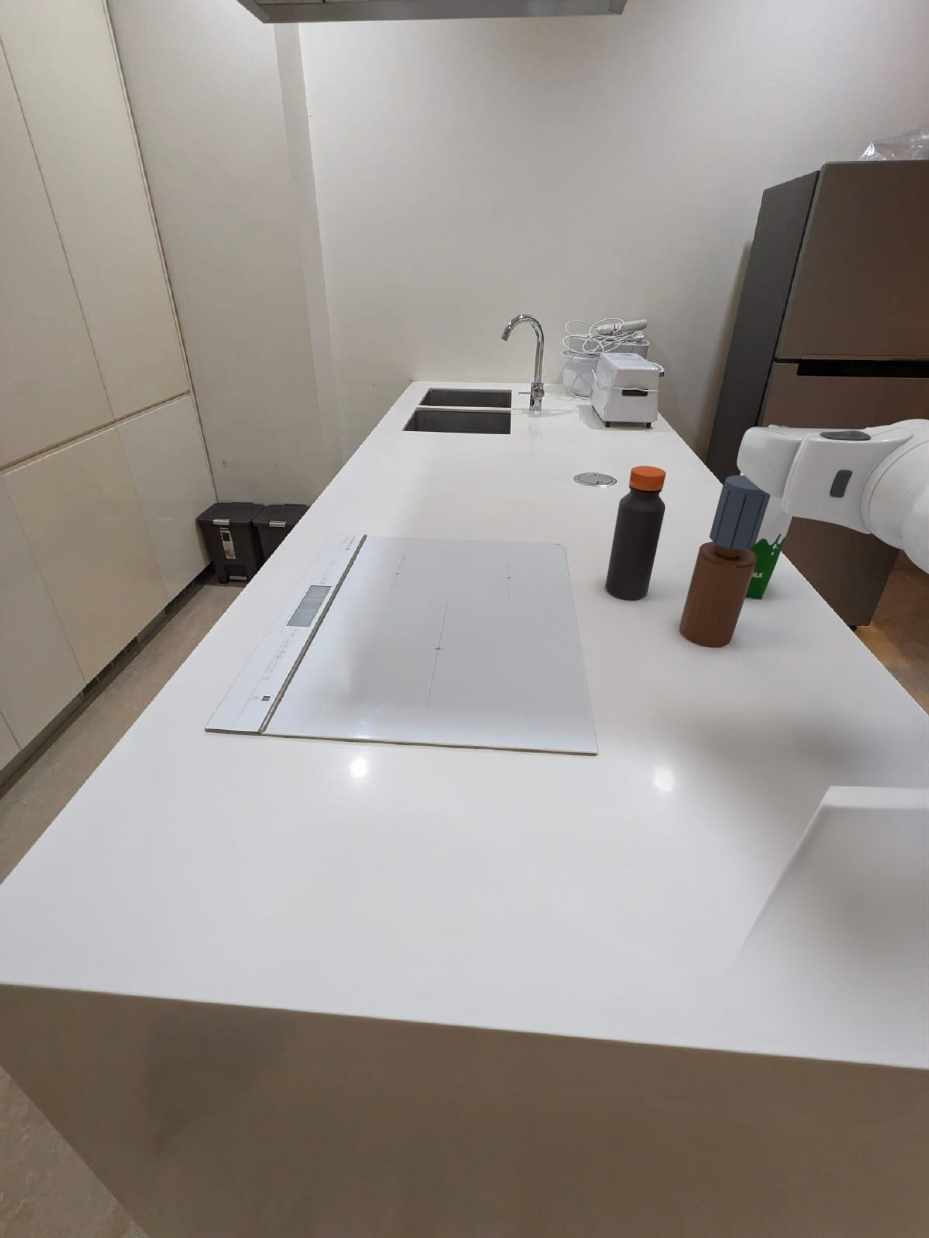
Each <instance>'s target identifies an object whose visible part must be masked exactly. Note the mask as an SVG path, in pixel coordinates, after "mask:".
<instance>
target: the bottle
mask: <svg viewBox="0 0 929 1238" xmlns="http://www.w3.org/2000/svg"><path fill="white" fill-rule="evenodd" d="M756 562H757V556H756V554H755V553H754V552H753V551H752V550H750V549H732V548H726V547H723V546H720V545H717V544H716V543H714V542H713V541H708V542H704V543H702V544H701V545H700V546H699V548H698V552H697V556H696V559H695V563H694V568H693V571H692V576H691V579H690V583H689V586H688V591H687V594H686V599H685V603H684V606H683V611H682V613H681V618H680V622H679V633H680V634H681V635H682V636H683V638H685V639H686V640H688V641H689V642H691V643H693V644H695V645H698V646H703V647H708V648H720V647H725V646H727V645H728V644H730V642H731V641H732V638H733V637H734V634H735V630H736V627H737V624H738V621H739V618H740V614H741V612H742V608H743V605H744V601H745V600H746V597H747V596H746V593H747V590H748V587H749V584H750V581H751V578H752V575H753V571H754V568H755V565H756Z"/></svg>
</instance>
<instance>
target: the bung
mask: <svg viewBox="0 0 929 1238" xmlns="http://www.w3.org/2000/svg"><path fill="white" fill-rule="evenodd" d="M770 496H771V495H770V494H768V493H766V492H764V491H763V490H761V489H760V488H759V487H757V486H756V485H755V484H754V483H753V482H751V481H750V480H749V479H748V478H747V477H746V476H744V475H740V474H739V475H738V474H736V475H730V476H727V477H726V478H725V480H724V483H723V484H722V488H721V490H720V495H719V499H718V501H717V502H718V503H717V506H716V509H715V514H714V517H713V522H712V525H711V528H710V532H709V536H708V537H709V539H710V540H711V542H714V543H716V544H717V545H720V546H723V547H726V548H732V549H750V548H751V547H753V546H754V545H755V543H756V540H757V537H758V534H759V531H760V527H761V524H762V521H763V518H764V515H765V511H766V508H767V505H768V502H769V499H770Z"/></svg>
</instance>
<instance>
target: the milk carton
mask: <svg viewBox="0 0 929 1238" xmlns="http://www.w3.org/2000/svg"><path fill="white" fill-rule="evenodd" d="M739 475H744V474H743V473H742V472H741V471H740V474H739ZM744 476H745V475H744ZM781 503H782V499H781V498H777V497H775V496H772V495H771V496H770V499H769V502H768V505H767V508H766V511H765V515H764V518H763V521H762V524H761V527H760V531H759V534H758V537H757V540H756V543H755V545H754V546H753V547H751V548H750V550H752V551H753V552H754V553H755V554H756V556H757V562H756V565H755V568H754V571H753V575H752V578H751V581H750V584H749V587H748V590H747V593H746V596H745V597H748V598H754V599H760V600H761V599H762V600H763V596H764V594H765V592H766V590H767V587H768V584H769V582H770V580H771V579H772V575H773V573H774V571H775V568H776V566H777V563H778V561H779V558H780V554H781V551H782V549H783V545H784V543H785V540H786V537H787V534H788V531H789V528H790V526H791V522H792V519H793V516H791V515H789V514H787V513H785V512H784V511H783V510H782V509H781Z"/></svg>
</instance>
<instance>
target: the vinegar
mask: <svg viewBox="0 0 929 1238" xmlns="http://www.w3.org/2000/svg"><path fill="white" fill-rule="evenodd" d="M666 475H667V472H666V471H665V470H664V469H662V468H659V467H656V466H652V465H651V466H650V465H637V466H634V467H632V468H631V470H630V475H629V481H628V488H629V492H628V493H627V494H626V495H624V496H623V497H621V499H620V500H619V502H618V508H617V514H616V520H615V526H614V532H613V538H612V545H611V551H610V556H609V562H608V569H607V574H606V575H607V576H606V580H605V589H606V591H607V592H608V593H609V594H610V595H612V596H613V597H616V598H619V599H622V600H639V599H642V598H644V597H646V595H647V594H648V591H649V587H650V583H651V578H652V574H653V568H654V562H655V559H656V554H657V549H658V546H659V545H658V544H659V540H660V536H661V530H662V527H663V526H662V525H663V522H664V518H665V517H664V516H665V511H666V503H665V502H664V500H663V499H662V498H661V496H660V493H662V491H663V488H664V484H665V480H666Z"/></svg>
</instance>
